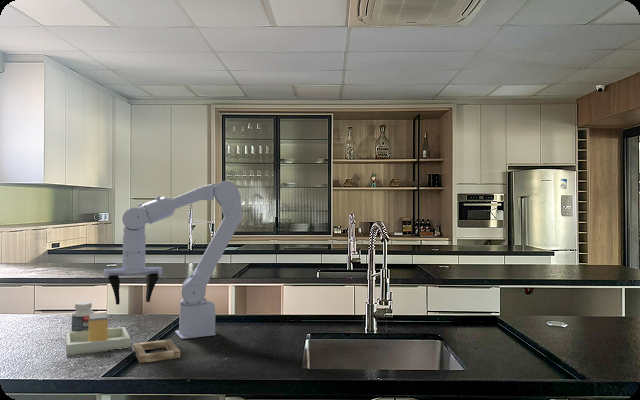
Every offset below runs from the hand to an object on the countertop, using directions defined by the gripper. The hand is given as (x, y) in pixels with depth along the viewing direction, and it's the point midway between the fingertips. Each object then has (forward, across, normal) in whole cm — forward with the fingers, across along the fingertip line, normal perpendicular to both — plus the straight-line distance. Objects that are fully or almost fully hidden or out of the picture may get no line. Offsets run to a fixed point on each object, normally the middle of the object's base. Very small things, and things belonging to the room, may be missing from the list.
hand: (132, 302), depth 127 cm
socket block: (+9, +3, -17) cm, 20 cm away
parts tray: (+9, -9, -4) cm, 13 cm away
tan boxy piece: (+9, -9, -4) cm, 13 cm away
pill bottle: (+10, -12, +7) cm, 17 cm away
